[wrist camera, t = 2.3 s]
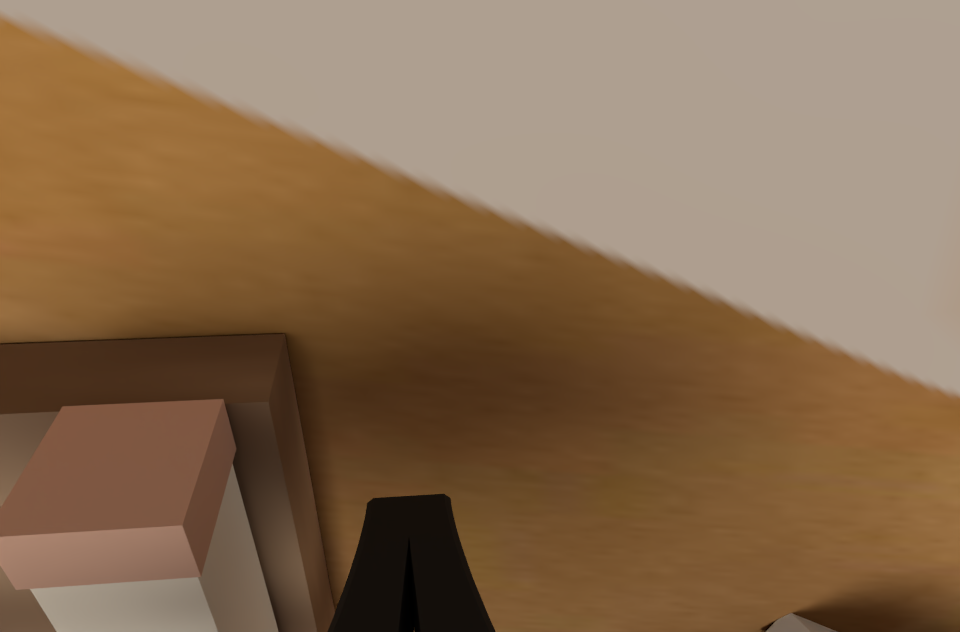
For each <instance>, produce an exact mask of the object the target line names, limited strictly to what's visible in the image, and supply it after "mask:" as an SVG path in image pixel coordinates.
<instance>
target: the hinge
mask: <svg viewBox="0 0 960 632" xmlns="http://www.w3.org/2000/svg"><path fill="white" fill-rule="evenodd" d="M766 632H837V631H835V630H832V629H830V628H827V627H825V626H822V625H820V624H817V623H815V622H812V621H810V620H807V619H805V618H802V617H800V616H797V615H795V614H792V613H790V614H788V615H786V616H784V617H782V618H780V619H778V620H776V621H775V622H774V623H773V625H772V626H771V627H770V628H769V629H768V630H767V631H766Z"/></svg>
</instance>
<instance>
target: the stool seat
mask: <svg viewBox="0 0 960 632" xmlns="http://www.w3.org/2000/svg"><path fill="white" fill-rule="evenodd" d="M211 399H223V400H224V403H225V407H226V411H227V415H228V418H229V422H230V426H231V430H232V434H233V437H234V441H235V445H236V452H235V456H234V459H233V463H232V464H233V467H234V471H235V474H236V478H237V482H238V485H239V489H240V493H241V496H242V500H243V504H244V507H245V511H246V515H247V518H248V522H249V526H250V529H251V533H252V536H253V540H254V544H255V547H256V551H257V555H258V558H259V562H260V566H261V569H262V573H263V577H264V580H265V584H266V588H267V591H268V595H269V598H270V602H271V606H272V609H273V613H274V617H275V620H276V624H277V628H278V631H279V632H327V631H328V629H329V627H330V624H331V622H332V619H333V617H334V614H335V611H334V605H333V599H332V594H331V588H330V583H329V577H328V572H327V566H326V561H325V555H324V549H323V544H322V538H321V533H320V527H319V522H318V516H317V510H316V505H315V499H314V494H313V488H312V483H311V477H310V472H309V466H308V460H307V455H306V449H305V444H304V438H303V433H302V427H301V422H300V416H299V410H298V405H297V399H296V394H295V388H294V383H293V377H292V372H291V366H290V360H289V355H288V349H287V344H286V338H285V334H264V335H238V336H211V337H185V338H158V339H131V340H105V341H78V342H51V343H25V344H0V508H1V507H2V505H3V503H4V502H5V500H6V498H7V497H8V495H9V493H10V492H11V490H12V489H13V487H14V485H15V484H16V482H17V480H18V479H19V477H20V475H21V474H22V472H23V471H24V469H25V467H26V466H27V464H28V462H29V461H30V459H31V457H32V456H33V454H34V452H35V451H36V449H37V448H38V446H39V444H40V443H41V441H42V439H43V438H44V436H45V434H46V433H47V431H48V430H49V428H50V426H51V425H52V423H53V421H54V420H55V418H56V416H57V415H58V413H59V412H60V410H61V408H62V407H63V406H81V405H103V404H125V403H146V402H168V401H190V400H211ZM0 632H56V630H55V628H54V627H53V625H52V624H51V622H50V620H49V619H48V617H47V616H46V614H45V612H44V611H43V609H42V608H41V606H40V604H39V603H38V601H37V599H36V598H35V596H34V595H33V593H32V591H31V590H30V589H22V590H16V589H15V588H14V586H13V585H12V583H11V582H10V580H9V579H8V577H7V575H6V574H5V572H4V571H3V569H2V568H1V566H0Z"/></svg>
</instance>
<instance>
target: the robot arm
mask: <svg viewBox="0 0 960 632" xmlns="http://www.w3.org/2000/svg"><path fill="white" fill-rule="evenodd" d="M414 631H415V632H495V630H494V627H493V625H492V623H491V621H490V618H489V616H488V614H487V611H486V609H485V606H484V604H483V602H482V599H481V597H480V594H479V592H478V590H477V587H476V585H475V582H474V580H473V577H472V574H471V572H470V569H469V566H468V563H467V560H466V557H465V555H464V552H463V549H462V546H461V542H460V539H459V536H458V532H457V529H456V525H455V521H454V516H453V512H452V507H451V500H450V498H449V497H448V496H446V495H445V494H435V495H418V496H401V497H385V498H373V499H372V500H371V501H369V502H368V503H367V509H366V515H365V520H364V524H363V528H362V533H361V536H360V540H359V544H358V547H357V551H356V554H355V557H354V560H353V563H352V567H351V570H350V573H349V576H348V579H347V581H346V584H345V587H344V589H343V592H342V595H341V598H340V600H339V603H338V606H337V608H336V611H335V614H334V617H333V619H332V622H331V624H330V627H329V629H328V631H327V632H414Z"/></svg>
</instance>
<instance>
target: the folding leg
mask: <svg viewBox="0 0 960 632" xmlns="http://www.w3.org/2000/svg"><path fill="white" fill-rule="evenodd" d="M235 452H236V445H235V441H234V437H233V434H232V430H231V426H230V422H229V418H228V415H227V411H226V407H225V403H224V400H223V399H211V400H190V401H168V402H146V403H125V404H103V405H81V406H63V407H62V408H61V410H60V412H59V413H58V415H57V416H56V418H55V420H54V421H53V423H52V425H51V426H50V428H49V430H48V431H47V433H46V434H45V436H44V438H43V439H42V441H41V443H40V444H39V446H38V448H37V449H36V451H35V452H34V454H33V456H32V457H31V459H30V461H29V462H28V464H27V466H26V467H25V469H24V471H23V472H22V474H21V475H20V477H19V479H18V480H17V482H16V484H15V485H14V487H13V489H12V490H11V492H10V493H9V495H8V497H7V498H6V500H5V502H4V503H3V505H2V507H1V508H0V566H1V568H2V569H3V571H4V572H5V574H6V575H7V577H8V579H9V580H10V582H11V583H12V585H13V586H14V588H15V589H16V590H22V589H30V590H31V591H32V593H33V595H34V596H35V598H36V599H37V601H38V603H39V604H40V606H41V608H42V609H43V611H44V612H45V614H46V616H47V617H48V619H49V620H50V622H51V624H52V625H53V627H54V628H55V630H56V632H279V631H278V628H277V624H276V620H275V617H274V613H273V609H272V606H271V602H270V598H269V595H268V591H267V588H266V584H265V580H264V577H263V573H262V569H261V566H260V562H259V558H258V555H257V551H256V547H255V544H254V540H253V536H252V533H251V529H250V526H249V522H248V518H247V515H246V511H245V507H244V504H243V500H242V496H241V493H240V489H239V485H238V482H237V478H236V474H235V471H234V467H233V464H232V463H233V459H234V456H235Z"/></svg>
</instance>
